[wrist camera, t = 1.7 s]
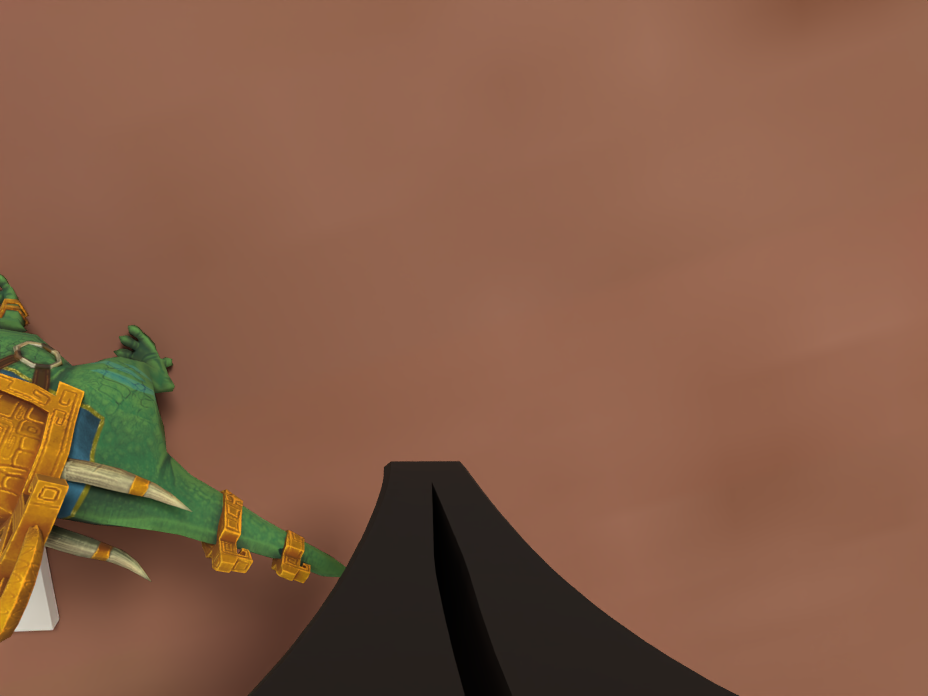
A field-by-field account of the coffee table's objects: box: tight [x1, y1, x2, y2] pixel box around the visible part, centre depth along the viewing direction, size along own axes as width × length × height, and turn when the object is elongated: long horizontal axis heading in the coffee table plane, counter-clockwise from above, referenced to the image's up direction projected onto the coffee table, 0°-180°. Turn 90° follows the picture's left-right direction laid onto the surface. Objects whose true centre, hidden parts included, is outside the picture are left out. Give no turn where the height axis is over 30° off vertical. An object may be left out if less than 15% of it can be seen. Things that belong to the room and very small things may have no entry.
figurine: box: [0, 274, 346, 642], centre depth 12 cm, size 3×12×8 cm, turn 57°
